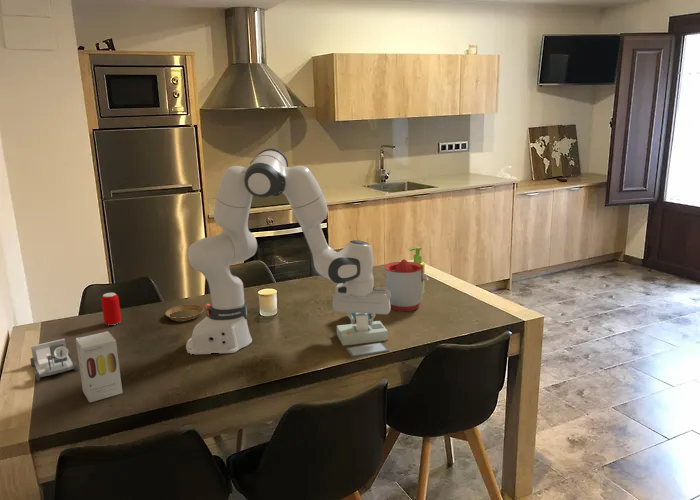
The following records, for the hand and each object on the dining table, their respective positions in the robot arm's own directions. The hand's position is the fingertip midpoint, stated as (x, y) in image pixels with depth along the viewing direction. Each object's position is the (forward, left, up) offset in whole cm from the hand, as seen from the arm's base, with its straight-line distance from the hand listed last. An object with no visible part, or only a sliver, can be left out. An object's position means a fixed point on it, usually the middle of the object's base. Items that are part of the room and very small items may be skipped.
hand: (362, 324), depth 200 cm
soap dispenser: (+35, +41, -5) cm, 54 cm away
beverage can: (-89, +41, -5) cm, 98 cm away
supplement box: (-83, -17, -5) cm, 85 cm away
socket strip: (0, 0, -5) cm, 5 cm away
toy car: (-101, +4, -6) cm, 101 cm away
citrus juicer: (+25, +25, -5) cm, 36 cm away
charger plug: (0, +1, -3) cm, 3 cm away
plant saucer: (-62, +41, -6) cm, 75 cm away
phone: (-1, -11, -6) cm, 12 cm away
